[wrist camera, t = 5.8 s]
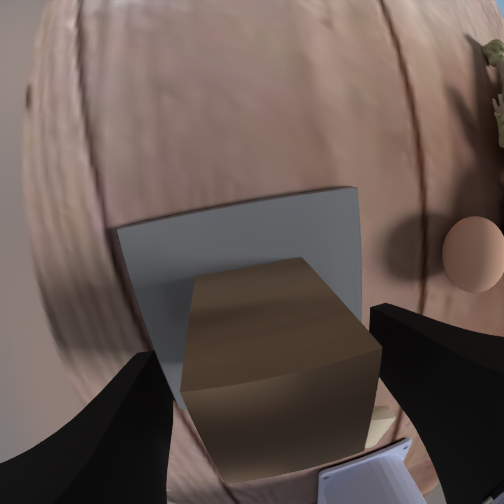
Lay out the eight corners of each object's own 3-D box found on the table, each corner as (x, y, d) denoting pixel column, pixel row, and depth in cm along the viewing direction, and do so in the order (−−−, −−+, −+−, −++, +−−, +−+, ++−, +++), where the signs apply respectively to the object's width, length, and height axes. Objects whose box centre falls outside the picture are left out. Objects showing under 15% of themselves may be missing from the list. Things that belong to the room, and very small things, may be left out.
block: (308, 343, 12) (363, 450, 6) (217, 361, 12) (225, 483, 6) (301, 256, 11) (382, 347, 5) (195, 276, 11) (179, 392, 5)
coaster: (353, 365, 14) (358, 372, 13) (181, 401, 13) (180, 409, 12) (350, 186, 11) (357, 187, 10) (121, 226, 10) (116, 229, 10)
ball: (469, 269, 13) (512, 292, 10) (425, 283, 13) (471, 314, 9) (473, 206, 12) (522, 221, 9) (428, 214, 12) (483, 232, 8)
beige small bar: (385, 402, 16) (396, 417, 14) (364, 431, 16) (373, 446, 15) (305, 403, 15) (313, 423, 13) (287, 434, 15) (293, 453, 14)
